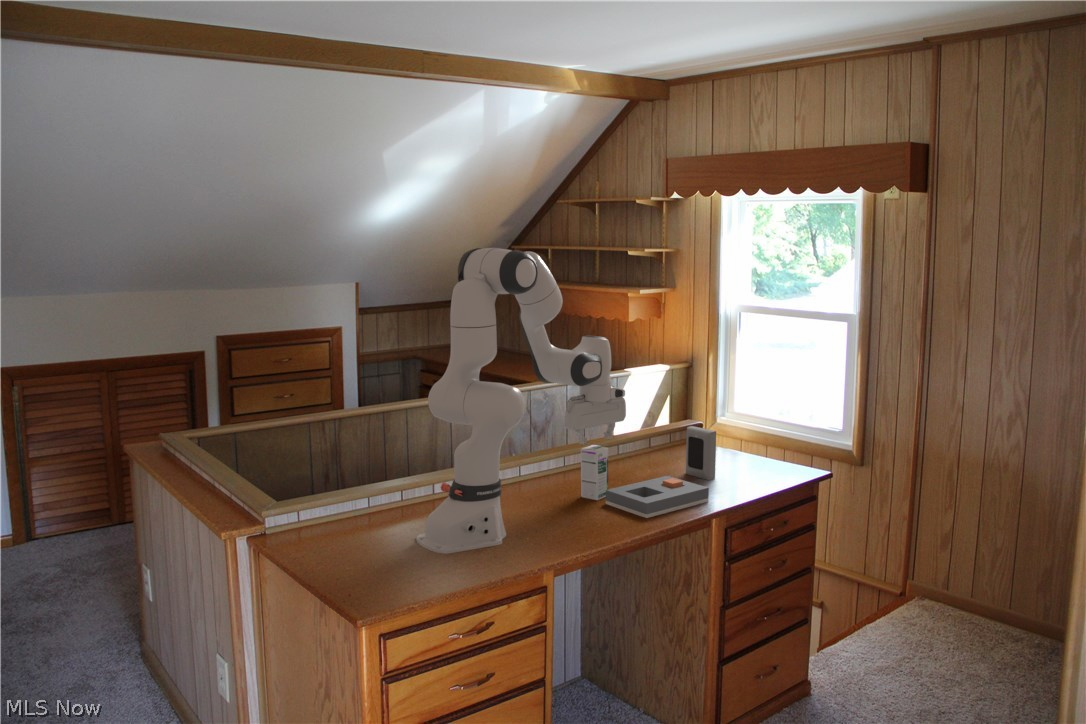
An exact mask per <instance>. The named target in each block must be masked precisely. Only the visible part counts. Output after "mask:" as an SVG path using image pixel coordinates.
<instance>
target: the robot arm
mask: <svg viewBox="0 0 1086 724" xmlns="http://www.w3.org/2000/svg"><path fill="white" fill-rule="evenodd" d="M457 281H458V282H457V283H456V284H455V285H454V286H453V290H452V295H451V302H450V311H449V312H450V314H449V316H450V319H449V321H450V354H449V355H450V356H449V362H448V365H447V367H446V370H445V372H444V374H443V375H442V377H440V379H439V380H438V381H436V382H435V383H434V384H433V385H432V386H431V388H430V390H429V393H428V397H427V403H428V408H429V410H430V413H431V414H432V416H434V417H435V418H436V419H438V420H439V419H440V420H442V421H445V422H448V423H451V424H458V425H465V426H466V425H467V426H471V427H472V428H471V429H472V430H471V435H470V437H469V438H467V439H466V440H464V441H462V442H460V444H459V445H457V447H456V449H455V451H454V453H453V455H454V456H453V457H454V458H453V459H454V461H453V463H454V464H453V465H454V466H453V467H454V468H453V470H454V479H453V480H452V483H451V485H450V484H448V483H446V482H442V483H441V485H440V486H439V487H440V490H441V491H442V492H445V493H448V495H447V497H446V498H445V499H444V500H443V501H442V502H441V503H440V504H439V505H438V506H437V507H436V508H435V509H434V510H433V511H432V512H431V513H430V514H429V515H428V516H427V519H426V523H425V530H424V531H425V532H423V533H420V534H418V535H416V540H415V541H416V542H417V544H418V545H419V546H421V547H423V548H424V549H426V550H429V551H431V552H434V553H438V554H443V555H446V554H448V555H449V554H454V553H460V552H467V551H471V550H472V551H473V550H477V549H484V548H489V547H495V546H499V545H503V539H505V538H506V537H507V531H506V528H505V525H504V520H503V515H502V506H501V496H502V480H501V478H500V458H501V457H500V456H501V455H500V454H501V449H502V445H503V442H504V440H505V438H506V436H507V435H508V433H509V432H510V431H511V430H512V429H513V428H514V427H516V426H517V425H518V424H520V422H521V421H522V419H523V417H524V415H525V412H526V400H525V397H524V394H523V393H522V392H521V390H520V389H519V388H518V387H515V386H512V385H509V384H506V383H503V382H494V381H493V382H492V381H484V380H483V381H482V380H480V372H481V369H482V368H483V367H485V366H487V365H488V364H490V363H491V362H492V361H493V360H494V359H495V358H496V356H497V353H498V342H497V340H498V339H497V338H498V337H497V332H498V331H497V315H496V312H497V311H496V305H495V304H496V300H497V297H498V295H514V297H515V299H516V301H517V304H518V305H519V308H520V309H519V312H518V319H519V324H520V327H521V331H522V333H523V336H524V340H525V341H526V344H527V347H528V350H529V353H530V356H531V360H532V368H533V372H534V375H535V376H536V378H537V379H538V380H539V381H540V382H542V383H545V384H556V385H557V384H559V385H565V386H573V387H579V395H576V396H575V395H574V396H571V397H570V398H569V399H568V400H567V401H566V404H565V412H564V427H565V428H566V429H567V430H569V431H574V432H575V433H576V435H577V437H578V444H580V445H584V444H585V445H586V444H587V443H588V442H587V440H588V438H587V437H586V436H585V435H584V434H583V433H585V429H589V428H594V427H595V428H596V427H598V426H599V427H600V426H604V425H606V426H607V427H606V431H604V432H603V438H604V439H606V440H608V439H609V440H610V439H612V438H613V431H614V430H615V427H616V423H620V422H624V421H625V419H626V415H627V407H626V399H625V398H624V397H625V396H626V390H625V389H624V388H620V387H615V386H614V385H612V378H611V371H612V349H611V343H610V341H609V339H607V337H604V336H598V335H597V336H596V335H588V334H587V335H583V336H582V337H581V340H580V342H579V344H578V345H577V346H575V347H574V348H572V349H565V348H559V347H556V346H554V345H553V344H551V342H550V339H549V336H548V333H547V330H546V327H545V325H546V324H548V323H550V322H551V321H552V320H554V319H555V318H556V317H557V315H559V313H560V312H561V309H562V307H563V303H564V302H563V301H564V300H563V294H562V292H561V290H560V287H559V285H558V283H557V281H556V278H555V277H554V276H553V274H552V272H551V269H549V267H548V266H547V264H546V262H545V261H544V260H543V259H542V257H541V256H540V255H539V254H537V253H536V252H534V251H527V250H526V251H521V250H518V249H514V250H512V249H506V248H501V247H486V248H482V247H477V248H474V249H473V248H472V249H469V250H467V251H466V252H464V253H463V254H462V256H461V257H460V259H459V261H458V265H457Z"/></svg>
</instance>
